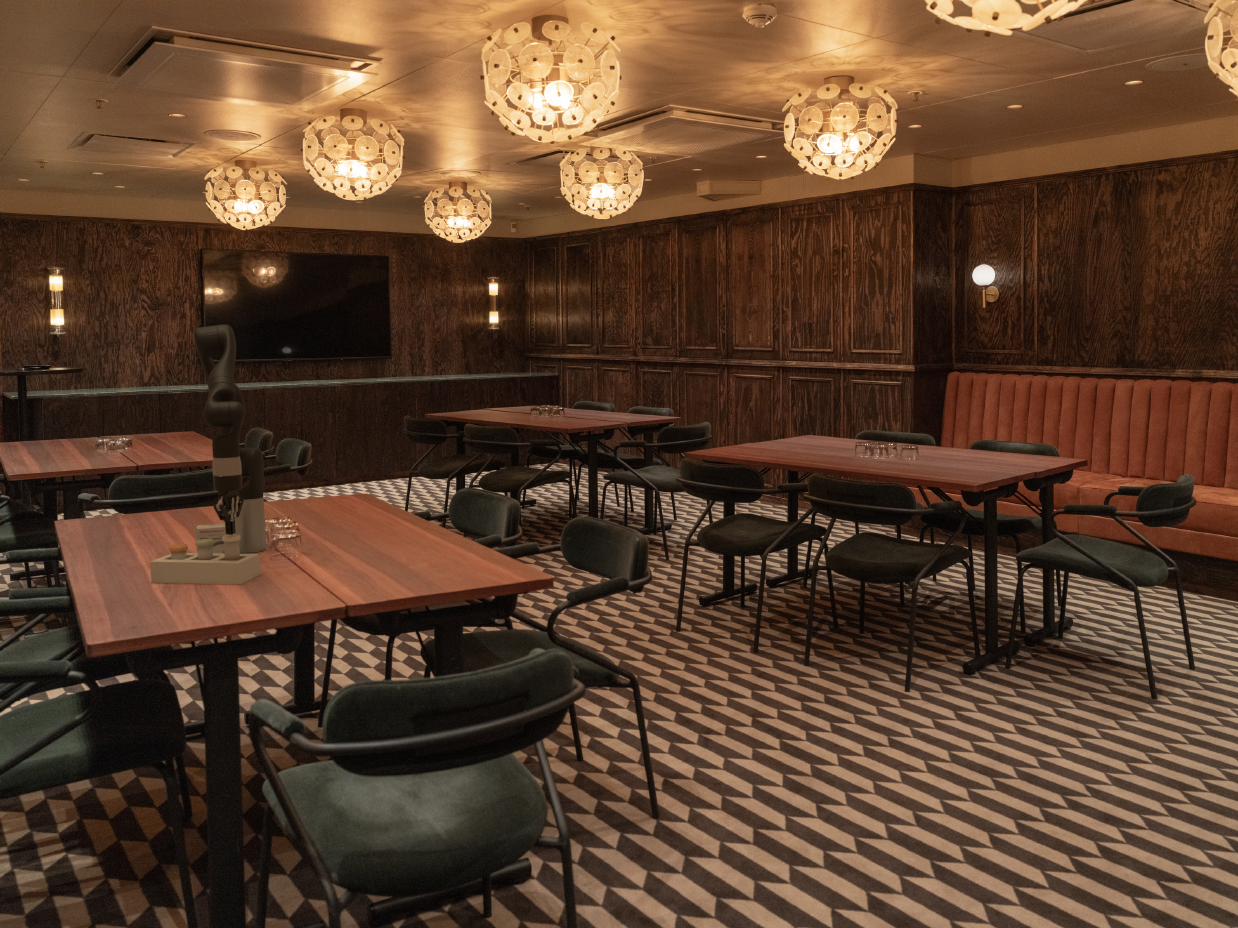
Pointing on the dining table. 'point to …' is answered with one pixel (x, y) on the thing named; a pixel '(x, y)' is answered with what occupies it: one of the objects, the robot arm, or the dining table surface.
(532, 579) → the dining table surface
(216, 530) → the ink box
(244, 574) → the panel
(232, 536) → the cream plunger
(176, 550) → the terracotta plunger
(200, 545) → the sage plunger
